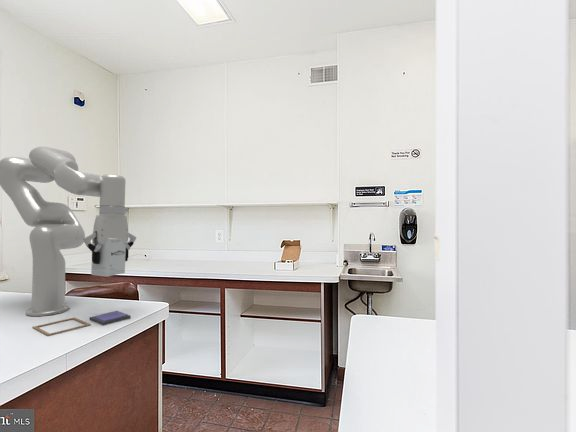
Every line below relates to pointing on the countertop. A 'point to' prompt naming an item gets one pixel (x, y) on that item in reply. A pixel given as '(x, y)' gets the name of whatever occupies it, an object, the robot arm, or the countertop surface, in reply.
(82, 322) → the tan picture frame
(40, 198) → the robot arm
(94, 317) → the ink pad
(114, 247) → the supplement box
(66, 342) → the countertop surface
